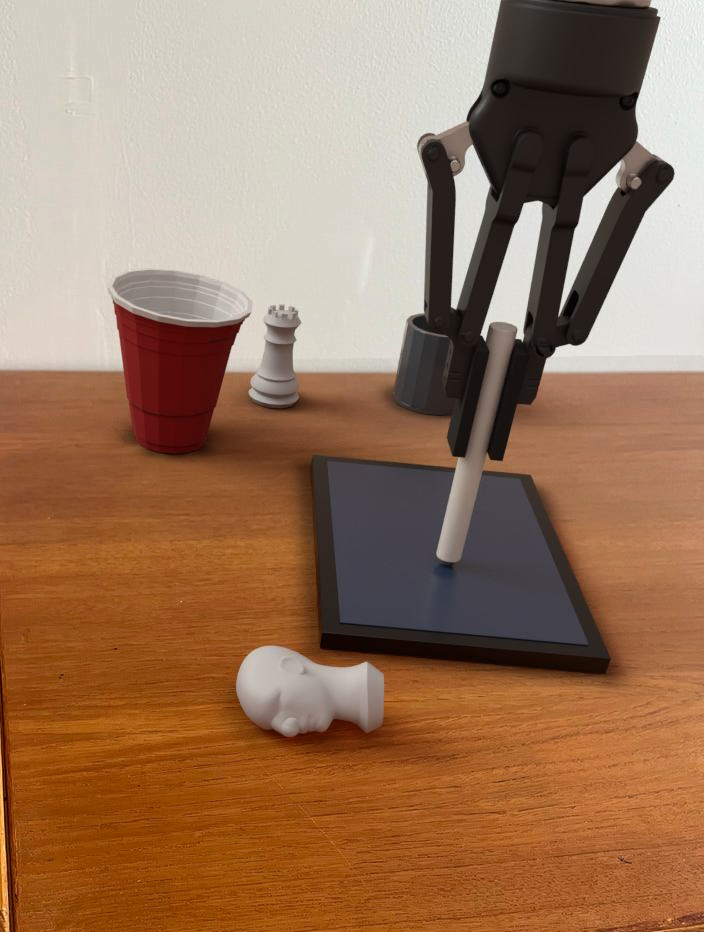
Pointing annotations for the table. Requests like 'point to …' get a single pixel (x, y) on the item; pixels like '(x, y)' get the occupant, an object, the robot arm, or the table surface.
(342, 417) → the table surface
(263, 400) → the rook chess piece
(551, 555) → the tablet
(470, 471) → the stylus
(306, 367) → the table surface
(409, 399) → the pen pot
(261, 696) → the white mannequin head
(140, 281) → the plastic cup
